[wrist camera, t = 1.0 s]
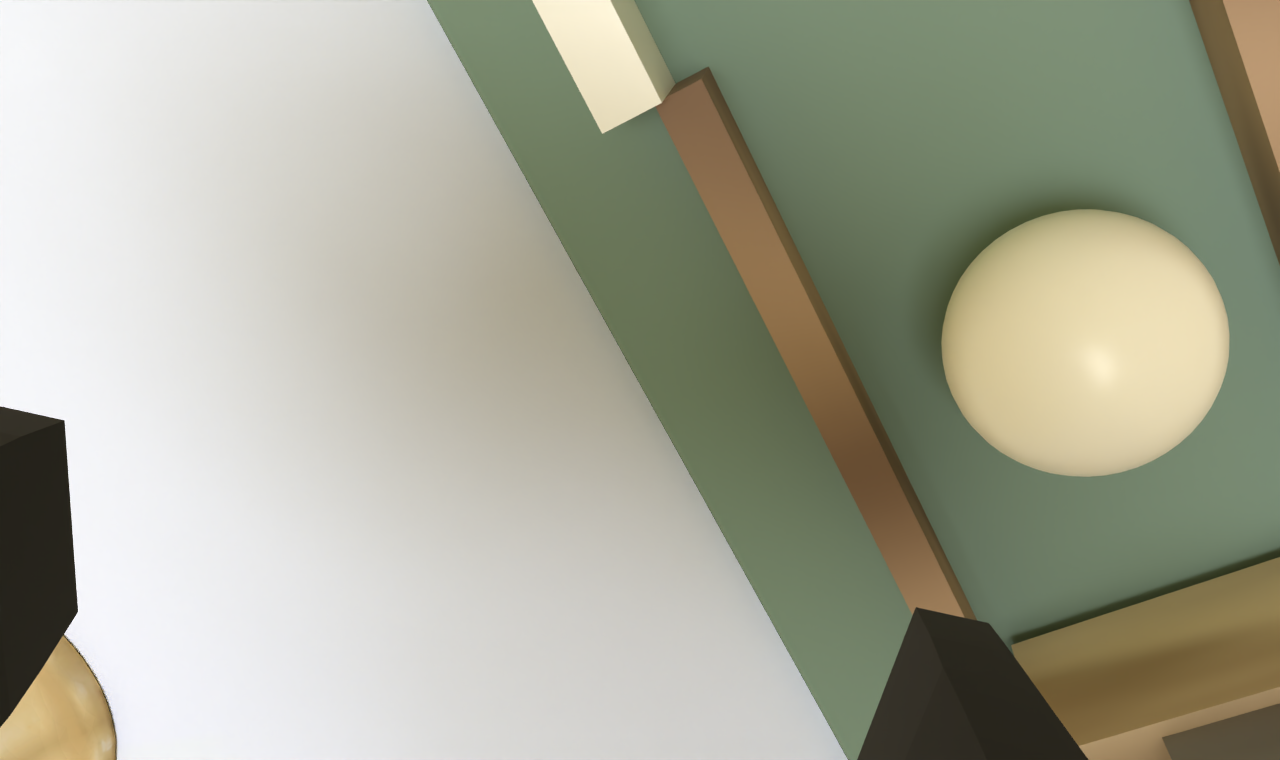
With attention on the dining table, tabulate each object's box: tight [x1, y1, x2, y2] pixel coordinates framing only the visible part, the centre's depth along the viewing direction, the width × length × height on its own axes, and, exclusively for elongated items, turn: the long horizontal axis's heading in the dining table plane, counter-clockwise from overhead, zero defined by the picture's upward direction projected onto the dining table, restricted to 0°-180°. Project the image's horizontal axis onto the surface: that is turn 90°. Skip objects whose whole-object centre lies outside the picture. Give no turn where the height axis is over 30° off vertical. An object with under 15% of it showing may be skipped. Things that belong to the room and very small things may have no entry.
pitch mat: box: [427, 0, 1280, 760], centre depth 18 cm, size 24×14×1 cm, turn 28°
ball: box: [941, 209, 1230, 477], centre depth 17 cm, size 4×4×4 cm
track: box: [655, 0, 1280, 620], centre depth 18 cm, size 15×8×2 cm, turn 28°
